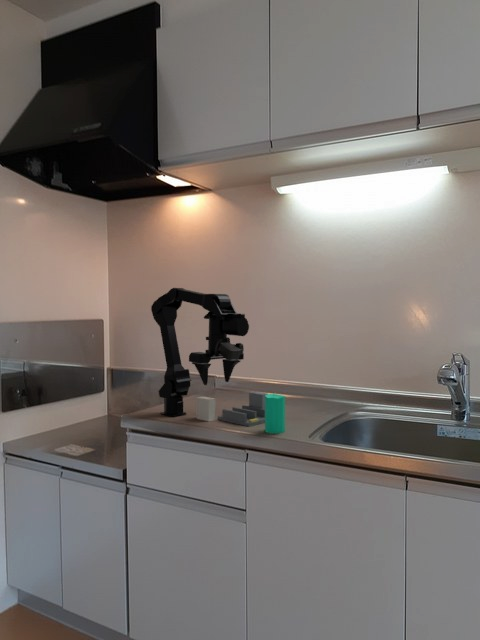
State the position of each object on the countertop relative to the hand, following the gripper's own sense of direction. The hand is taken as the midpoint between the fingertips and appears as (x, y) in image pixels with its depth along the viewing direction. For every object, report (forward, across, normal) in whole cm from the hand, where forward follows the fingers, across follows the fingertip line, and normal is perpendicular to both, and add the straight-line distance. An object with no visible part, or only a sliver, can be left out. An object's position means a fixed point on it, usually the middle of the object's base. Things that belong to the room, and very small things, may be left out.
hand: (216, 383), depth 156 cm
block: (+13, +1, +6) cm, 14 cm away
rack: (+12, +12, -4) cm, 17 cm away
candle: (+12, +6, -20) cm, 24 cm away
